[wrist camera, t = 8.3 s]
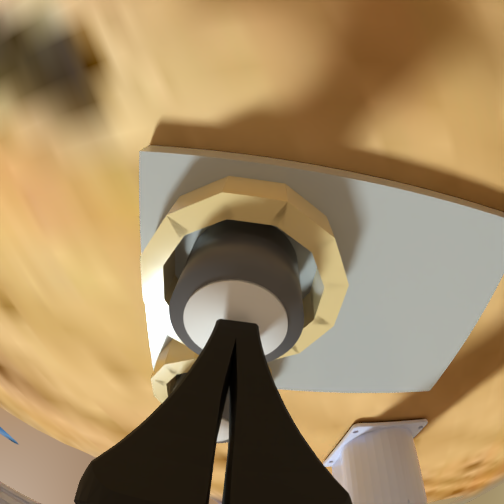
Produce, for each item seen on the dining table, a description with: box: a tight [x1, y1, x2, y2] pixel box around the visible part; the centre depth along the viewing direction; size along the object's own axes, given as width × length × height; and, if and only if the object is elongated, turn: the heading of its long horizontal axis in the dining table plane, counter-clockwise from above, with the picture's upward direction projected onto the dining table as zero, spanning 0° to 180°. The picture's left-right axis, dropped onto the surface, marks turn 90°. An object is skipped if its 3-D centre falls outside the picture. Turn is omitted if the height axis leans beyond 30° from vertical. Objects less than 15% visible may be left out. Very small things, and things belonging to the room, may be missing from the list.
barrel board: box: [139, 145, 504, 443], centre depth 16 cm, size 16×20×5 cm
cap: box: [169, 219, 304, 362], centre depth 13 cm, size 5×5×4 cm
